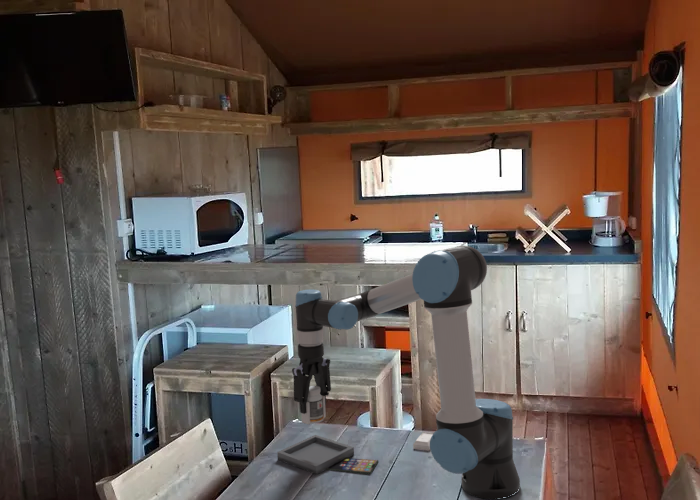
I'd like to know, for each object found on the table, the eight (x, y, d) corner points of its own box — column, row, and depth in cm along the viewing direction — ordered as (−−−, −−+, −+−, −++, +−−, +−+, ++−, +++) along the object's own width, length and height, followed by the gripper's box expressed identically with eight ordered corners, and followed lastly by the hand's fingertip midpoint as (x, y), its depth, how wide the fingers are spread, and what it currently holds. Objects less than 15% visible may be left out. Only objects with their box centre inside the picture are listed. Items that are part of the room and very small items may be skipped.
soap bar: (413, 449, 209) (413, 441, 209) (422, 438, 217) (422, 430, 217) (429, 452, 207) (428, 443, 207) (437, 440, 215) (437, 432, 215)
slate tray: (354, 455, 206) (353, 447, 206) (316, 474, 194) (315, 466, 194) (315, 442, 217) (315, 434, 217) (277, 459, 205) (277, 452, 205)
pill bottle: (327, 419, 205) (326, 386, 204) (316, 425, 200) (314, 392, 199) (311, 415, 208) (310, 383, 207) (300, 422, 203) (298, 389, 202)
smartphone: (329, 458, 205) (329, 454, 205) (378, 463, 201) (378, 459, 201) (320, 470, 198) (320, 466, 198) (370, 476, 193) (370, 472, 193)
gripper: (323, 334, 211) (326, 407, 214) (277, 348, 197) (281, 426, 200) (341, 338, 206) (344, 413, 209) (296, 352, 192) (300, 432, 195)
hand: (313, 419), depth 204 cm, fingers closed on pill bottle, 6 cm apart
